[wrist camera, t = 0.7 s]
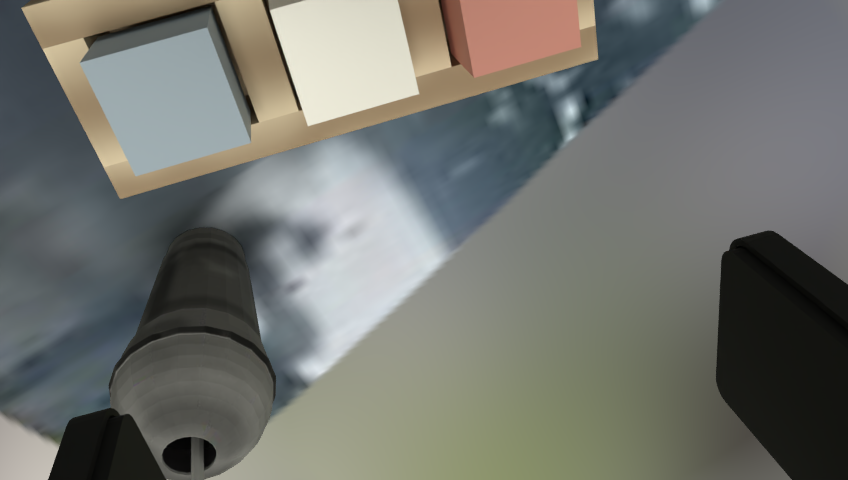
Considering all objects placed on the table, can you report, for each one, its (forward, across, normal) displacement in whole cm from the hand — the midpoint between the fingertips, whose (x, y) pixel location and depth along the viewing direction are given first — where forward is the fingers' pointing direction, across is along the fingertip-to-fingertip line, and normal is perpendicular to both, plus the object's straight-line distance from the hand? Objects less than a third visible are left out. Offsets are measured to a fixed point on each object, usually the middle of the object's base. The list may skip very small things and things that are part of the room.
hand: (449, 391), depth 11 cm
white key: (+25, -1, 0) cm, 25 cm away
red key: (+25, -8, -1) cm, 26 cm away
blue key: (+25, +7, 0) cm, 26 cm away
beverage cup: (+30, +10, +12) cm, 34 cm away
